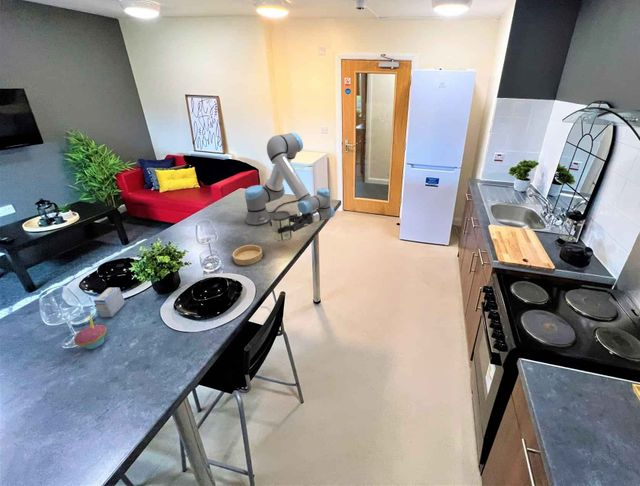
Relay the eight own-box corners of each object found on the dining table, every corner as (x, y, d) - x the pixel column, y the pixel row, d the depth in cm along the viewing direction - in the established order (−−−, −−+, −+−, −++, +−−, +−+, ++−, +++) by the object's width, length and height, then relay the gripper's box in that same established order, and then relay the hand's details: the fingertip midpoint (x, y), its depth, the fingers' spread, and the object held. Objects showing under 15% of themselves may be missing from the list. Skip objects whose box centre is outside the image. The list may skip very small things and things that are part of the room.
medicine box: (115, 303, 122) (107, 287, 118) (126, 303, 122) (119, 286, 118) (100, 317, 114) (92, 300, 111) (112, 317, 115) (105, 300, 111)
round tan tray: (245, 248, 163) (244, 242, 162) (267, 252, 160) (267, 247, 158) (227, 262, 151) (226, 256, 149) (251, 267, 147) (250, 261, 146)
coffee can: (280, 231, 170) (277, 209, 164) (295, 234, 167) (293, 212, 161) (269, 239, 161) (266, 217, 155) (285, 243, 158) (282, 220, 152)
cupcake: (106, 330, 109) (94, 306, 104) (114, 341, 104) (102, 316, 99) (76, 346, 102) (62, 321, 97) (83, 358, 98) (69, 333, 93)
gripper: (320, 230, 165) (283, 242, 152) (301, 216, 181) (267, 225, 168) (319, 218, 162) (281, 229, 149) (301, 205, 177) (265, 214, 165)
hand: (274, 227), depth 158 cm, fingers closed on coffee can, 10 cm apart
